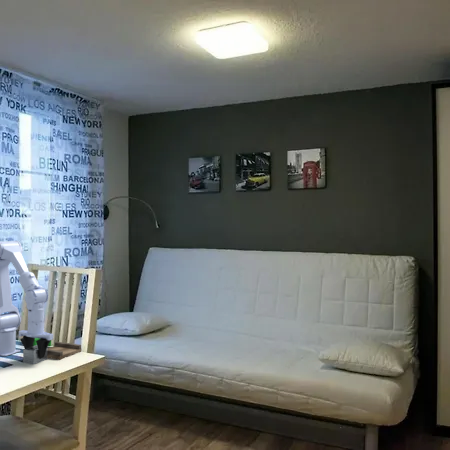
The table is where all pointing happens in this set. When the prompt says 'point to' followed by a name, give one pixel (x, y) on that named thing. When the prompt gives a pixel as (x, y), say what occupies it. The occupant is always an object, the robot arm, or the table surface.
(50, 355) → the board
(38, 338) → the pipe clamp
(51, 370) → the table surface
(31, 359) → the block
